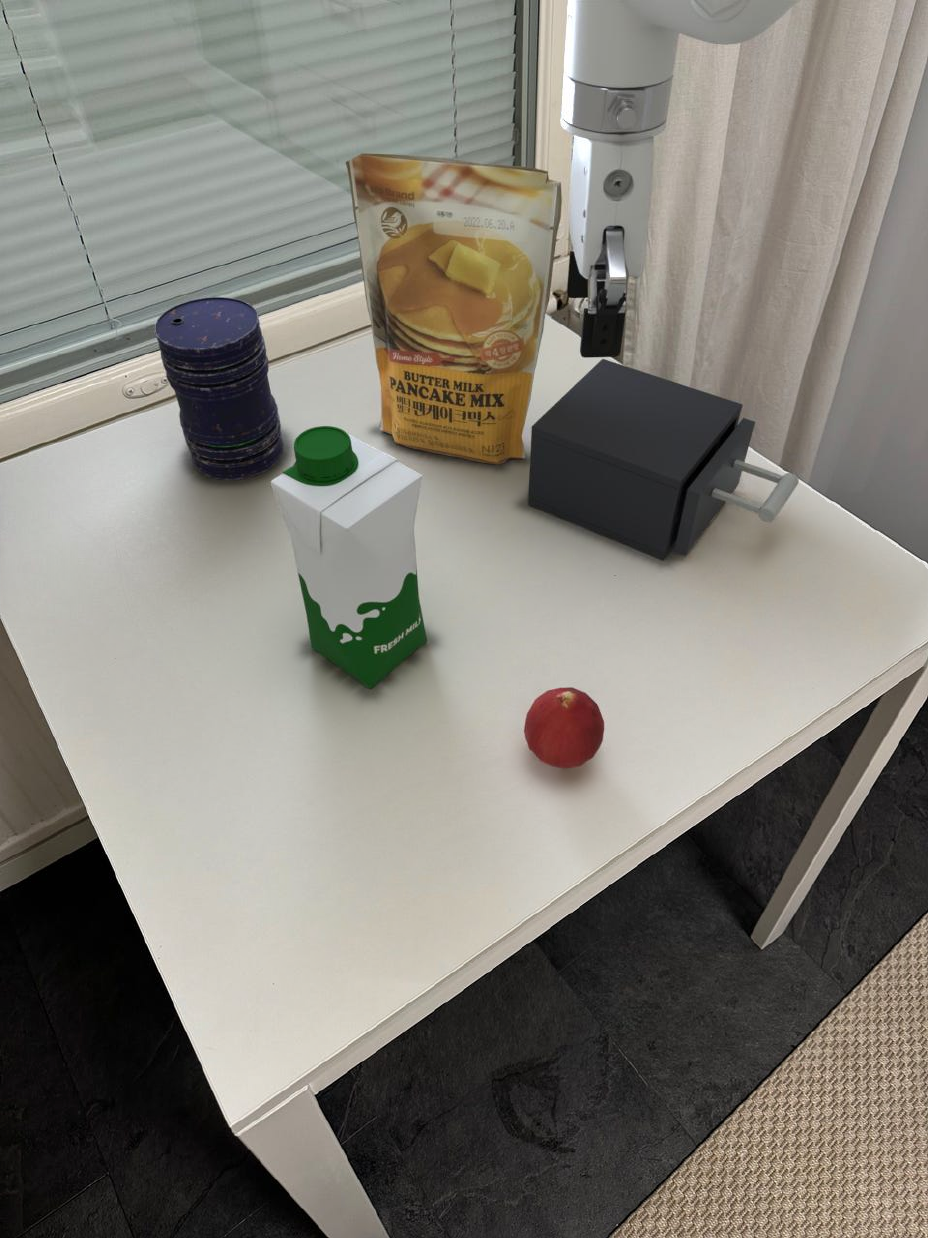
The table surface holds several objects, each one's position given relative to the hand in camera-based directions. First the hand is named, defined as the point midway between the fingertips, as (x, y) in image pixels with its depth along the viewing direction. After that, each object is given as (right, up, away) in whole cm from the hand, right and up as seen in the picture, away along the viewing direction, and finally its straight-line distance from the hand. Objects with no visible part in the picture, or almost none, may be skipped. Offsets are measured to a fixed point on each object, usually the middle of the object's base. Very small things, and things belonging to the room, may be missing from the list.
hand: (591, 324), depth 75 cm
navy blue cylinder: (-35, -7, +20) cm, 41 cm away
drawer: (+10, -14, +11) cm, 20 cm away
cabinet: (+5, -12, +14) cm, 19 cm away
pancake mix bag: (-12, -6, +21) cm, 24 cm away
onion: (-3, -36, -7) cm, 36 cm away
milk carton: (-19, -27, +1) cm, 33 cm away
